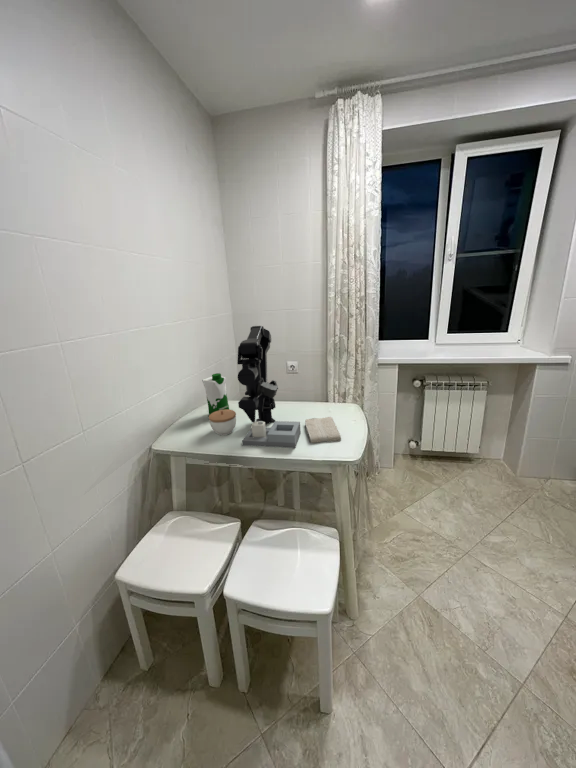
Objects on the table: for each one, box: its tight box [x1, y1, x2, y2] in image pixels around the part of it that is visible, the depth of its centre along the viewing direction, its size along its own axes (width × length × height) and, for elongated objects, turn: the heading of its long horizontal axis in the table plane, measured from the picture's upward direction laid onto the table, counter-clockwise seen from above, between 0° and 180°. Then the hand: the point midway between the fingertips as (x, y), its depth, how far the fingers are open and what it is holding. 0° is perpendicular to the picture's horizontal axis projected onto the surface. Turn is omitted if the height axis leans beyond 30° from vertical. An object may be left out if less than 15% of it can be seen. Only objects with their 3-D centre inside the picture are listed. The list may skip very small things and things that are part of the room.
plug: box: [251, 421, 267, 438], centre depth 112 cm, size 4×3×7 cm, turn 79°
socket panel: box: [241, 420, 302, 449], centre depth 111 cm, size 20×11×5 cm, turn 78°
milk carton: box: [202, 372, 230, 416], centre depth 135 cm, size 9×9×20 cm
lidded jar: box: [208, 409, 237, 436], centre depth 119 cm, size 11×11×9 cm
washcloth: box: [304, 416, 342, 444], centre depth 115 cm, size 12×18×3 cm, turn 4°
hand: (257, 416), depth 110 cm, fingers open, 9 cm apart
